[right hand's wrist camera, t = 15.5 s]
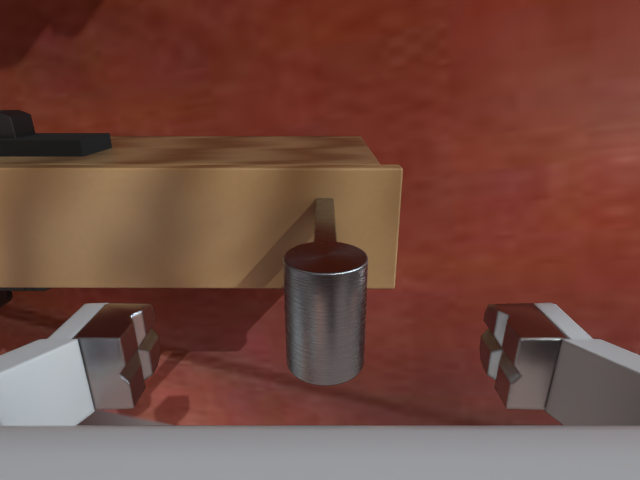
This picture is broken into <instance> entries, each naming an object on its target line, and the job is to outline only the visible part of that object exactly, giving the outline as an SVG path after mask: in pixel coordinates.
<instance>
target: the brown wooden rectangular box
mask: <svg viewBox="0 0 640 480" xmlns="http://www.w3.org/2000/svg"><path fill="white" fill-rule="evenodd" d="M110 138H111V144H112V148H110V149H107V150H104V151H100V152H97V153H94V154H90V155H87V156H84V157H0V165H380V163H379V162H378V161H377V159H376V158H375V156H374V155H373V153H372V152H371V150H370V149H369V148H368V146H367V145H366V143H365V142H364V140H363V139H362V138H361V137H360V136H161V137H110Z"/></svg>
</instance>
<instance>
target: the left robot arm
mask: <svg viewBox="0 0 640 480" xmlns="http://www.w3.org/2000/svg"><path fill="white" fill-rule="evenodd" d="M110 148H112V144H111V138H110V133H35V131H34V126H33V122H32V118H31V114H28V113H25V112H23V111H20V110H0V157H84V156H87V155H90V154H94V153H97V152H100V151H104V150H107V149H110ZM48 289H50V288H0V308H1V307H2V306H4V305H5V304H6V303H8V302H9V301H11V299H12V292H11V291H25V290H26V291H33V290H34V291H45V290H48Z"/></svg>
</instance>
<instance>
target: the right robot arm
mask: <svg viewBox="0 0 640 480" xmlns="http://www.w3.org/2000/svg"><path fill="white" fill-rule="evenodd" d="M155 322H156V316H155V311H154V308H153V306H152V305H151V304H125V303H88V304H84V305H83V306H82V307H81V308H80V309H79V310H78V311H77V312H76V313H74V314H73V315H72V316H71V317H70V318H69V319H68V320H67V321H66V322H65V323H64V324H63V325H62V326H60V327H59V328H58V329H57V330H56V331H55V332H54V333H53V334H52V335H51V336H50V337H49V338H47V339H39V340H37V341H34V342H32V343H29V344H27V345H24V346H22V347H19V348H17V349H15V350H12V351H10V352H7V353H5V354H2V355H0V480H640V355H638V354H635V353H633V352H630V351H628V350H625V349H623V348H620V347H618V346H616V345H613V344H611V343H608V342H606V341H603V340H601V339H593V338H592V337H590V336H589V335H588V334H587V333H586V332H585V331H584V330H583V329H582V328H581V327H580V326H579V325H577V324H576V323H575V322H574V321H573V320H572V319H571V318H570V317H569V316H568V315H567V314H566V313H565V312H563V311H562V310H561V309H560V308H559V307H558V306H557V305H556V304H553V303H520V304H491V305H488V306H487V308H486V310H485V315H484V322H485V323H486V325H487V326H488V329H487V330H486V331H485V332H484V334H483V335H482V336H481V340H480V358H481V362H482V365H483V368H484V370H485V372H486V374H487V375H488V376H490V377H492V378H493V379H495V380H496V383H495V389H496V391H497V393H498V394H499V396H500V398H501V400H502V401H503V403H504V405H505V406H506V408H508V409H545V411H546V412H547V413H548V414H550V415H551V416H552V417H554V418H555V419H556V420H558V421H559V422H560V423H562V424H563V425H383V426H76V425H77V424H79V423H80V422H81V421H83V420H84V419H85V418H86V417H88V416H89V415H91V414H92V413H93V412H94V411H95V409H131V408H134V406H135V405H136V403H137V401H138V400H139V398H140V396H141V394H142V393H143V391H144V389H145V383H144V380H145V379H147V378H148V377H150V376H152V375H153V374H154V372H155V370H156V368H157V366H158V362H159V357H160V340H159V336H158V335H157V334H156V332H155V331H154V330H153V329H152V326H153V325H154V323H155Z"/></svg>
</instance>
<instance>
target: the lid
mask: <svg viewBox="0 0 640 480" xmlns="http://www.w3.org/2000/svg"><path fill="white" fill-rule="evenodd" d="M402 176H403V169H402V167H401V166H400V165H0V288H284V300H285V328H286V356H287V365H288V368H289V369H290V371H291V372H292V373H293V375H295V376H296V377H297V378H299V379H300V380H302V381H304V382H307V383H310V384H315V385H325V386H326V385H337V384H341V383H344V382H347V381H349V380H351V379H352V378H354V377H355V376H356V375H357V374H358V373H359V372H360V371H361V369H362V367H363V364H364V346H365V323H366V299H367V289H393V288H394V287H395V278H396V263H397V249H398V234H399V220H400V205H401V191H402Z"/></svg>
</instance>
